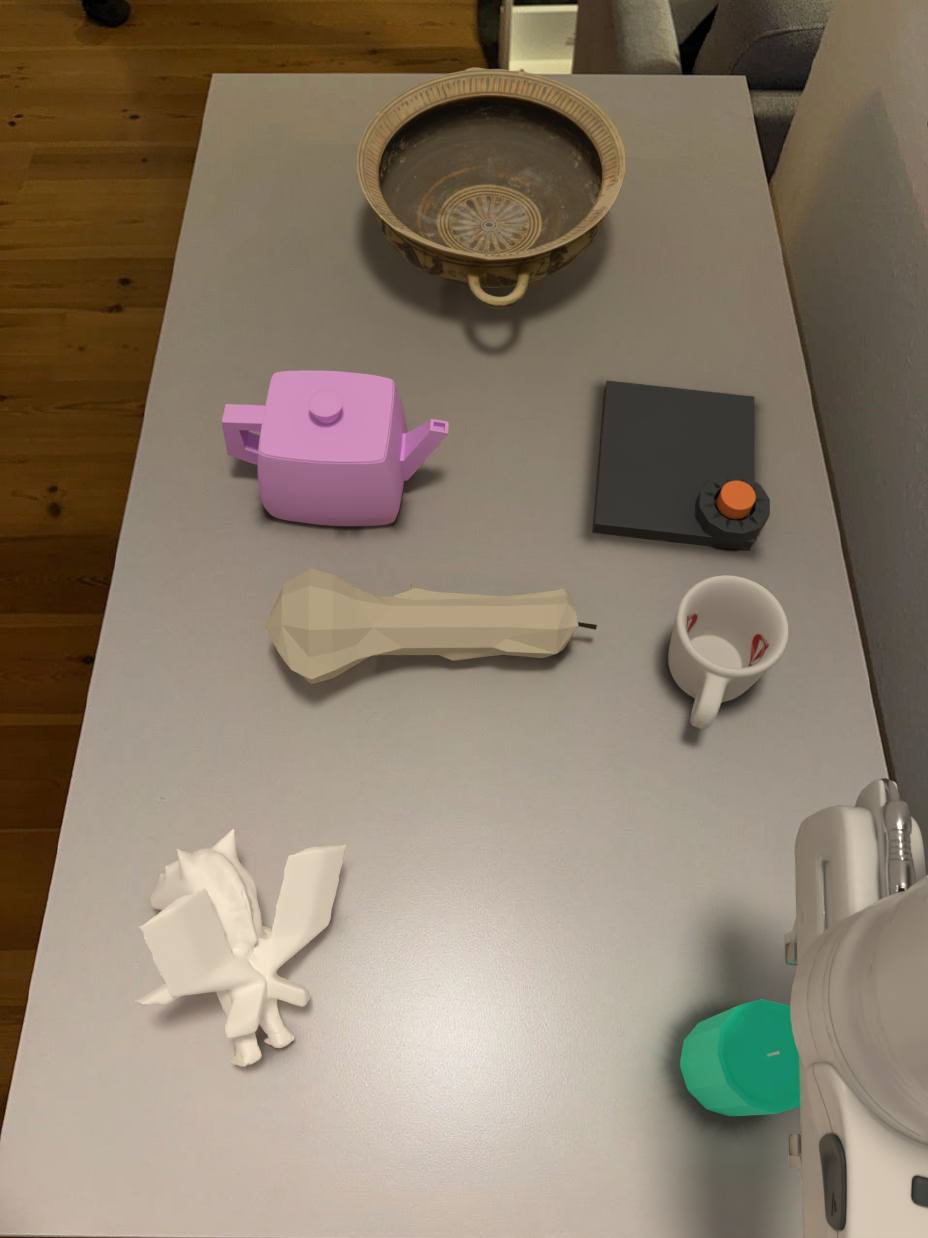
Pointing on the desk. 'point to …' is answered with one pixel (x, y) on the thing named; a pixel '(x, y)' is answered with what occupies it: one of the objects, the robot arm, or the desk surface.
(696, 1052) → the candle
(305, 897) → the figurine
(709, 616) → the cup
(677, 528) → the scale
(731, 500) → the button
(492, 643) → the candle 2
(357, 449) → the teapot
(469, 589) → the desk surface
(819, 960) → the robot arm
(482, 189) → the ceramic bowl
